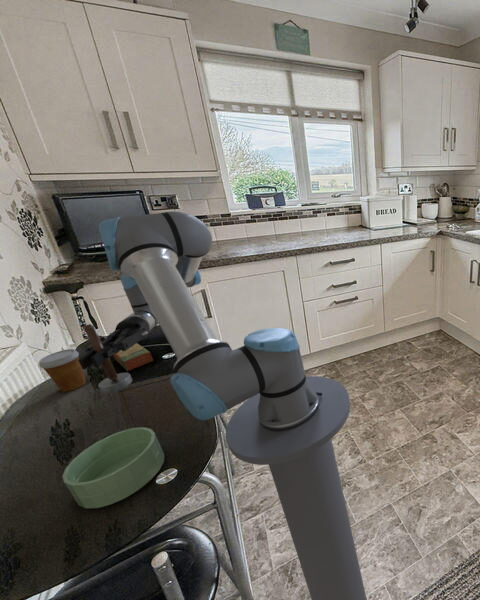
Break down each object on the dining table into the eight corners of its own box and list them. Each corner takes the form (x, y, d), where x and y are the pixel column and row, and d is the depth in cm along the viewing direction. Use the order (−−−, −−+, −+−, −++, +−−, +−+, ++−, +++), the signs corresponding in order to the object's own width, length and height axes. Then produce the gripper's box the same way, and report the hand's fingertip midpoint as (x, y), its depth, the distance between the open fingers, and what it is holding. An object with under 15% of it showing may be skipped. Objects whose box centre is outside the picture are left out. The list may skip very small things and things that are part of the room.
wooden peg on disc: (133, 375, 96) (107, 316, 90) (131, 386, 91) (102, 324, 84) (103, 385, 93) (73, 324, 86) (99, 396, 87) (66, 333, 81)
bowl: (166, 440, 81) (155, 418, 79) (164, 482, 69) (152, 457, 67) (87, 472, 74) (73, 449, 72) (69, 526, 62) (52, 499, 59)
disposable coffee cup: (59, 397, 105) (41, 365, 101) (51, 390, 110) (33, 359, 106) (96, 381, 113) (81, 351, 108) (87, 375, 118) (72, 346, 113)
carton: (140, 350, 133) (136, 341, 131) (154, 360, 123) (150, 350, 122) (115, 360, 127) (110, 350, 125) (127, 371, 117) (123, 361, 116)
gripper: (165, 332, 107) (127, 369, 86) (113, 341, 105) (60, 382, 83) (157, 311, 105) (115, 344, 83) (104, 320, 102) (46, 356, 80)
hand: (88, 363), depth 83 cm, fingers closed on wooden peg on disc, 2 cm apart
